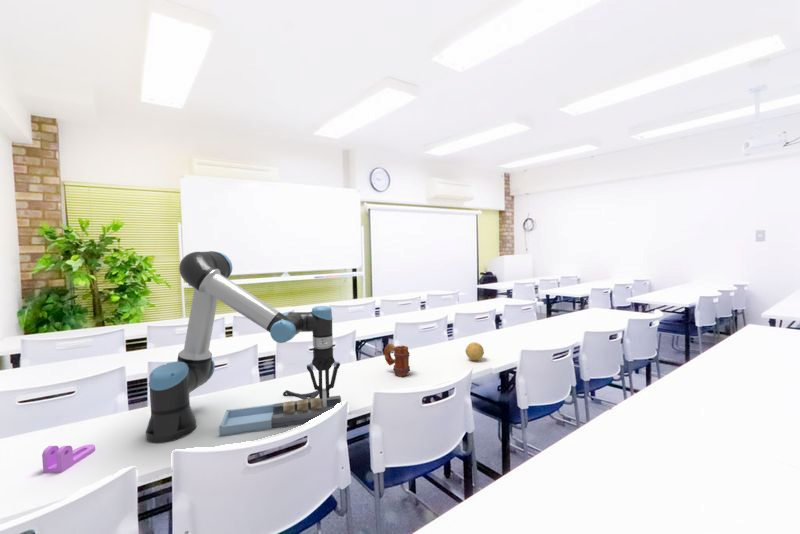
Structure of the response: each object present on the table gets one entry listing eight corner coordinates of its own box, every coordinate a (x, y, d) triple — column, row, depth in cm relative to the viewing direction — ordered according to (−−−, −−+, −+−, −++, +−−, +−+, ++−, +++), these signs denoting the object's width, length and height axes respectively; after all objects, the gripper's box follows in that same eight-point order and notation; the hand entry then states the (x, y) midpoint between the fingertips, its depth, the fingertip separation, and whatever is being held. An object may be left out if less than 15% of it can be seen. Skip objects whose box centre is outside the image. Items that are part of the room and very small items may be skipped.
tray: (219, 436, 125) (219, 427, 125) (226, 418, 138) (226, 410, 138) (271, 428, 130) (271, 420, 129) (273, 412, 143) (273, 404, 143)
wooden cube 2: (297, 415, 137) (297, 404, 137) (297, 410, 141) (297, 400, 140) (308, 413, 138) (308, 403, 138) (308, 409, 142) (307, 399, 142)
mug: (414, 373, 183) (413, 344, 183) (405, 378, 177) (405, 348, 176) (390, 369, 191) (389, 341, 190) (381, 373, 184) (380, 344, 184)
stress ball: (470, 358, 210) (459, 349, 206) (481, 345, 210) (470, 336, 206) (479, 366, 200) (467, 357, 197) (490, 353, 201) (479, 343, 197)
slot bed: (271, 428, 130) (271, 419, 129) (273, 412, 143) (273, 403, 143) (344, 418, 137) (344, 409, 137) (340, 403, 150) (339, 394, 150)
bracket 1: (61, 473, 106) (60, 450, 106) (43, 473, 106) (41, 450, 106) (99, 448, 119) (98, 427, 119) (83, 448, 119) (81, 427, 119)
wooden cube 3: (311, 413, 138) (310, 402, 138) (310, 408, 142) (310, 398, 142) (321, 411, 139) (321, 401, 139) (321, 407, 143) (320, 397, 143)
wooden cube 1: (283, 416, 135) (283, 406, 135) (283, 412, 139) (283, 402, 139) (294, 415, 137) (294, 405, 136) (294, 410, 140) (294, 400, 140)
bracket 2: (291, 390, 167) (291, 384, 166) (322, 392, 164) (321, 385, 164) (275, 403, 152) (275, 397, 152) (308, 405, 150) (308, 399, 150)
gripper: (305, 350, 135) (307, 412, 136) (341, 347, 138) (342, 407, 140) (305, 345, 142) (307, 404, 143) (338, 342, 146) (340, 400, 147)
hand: (324, 406), depth 142 cm, fingers closed
